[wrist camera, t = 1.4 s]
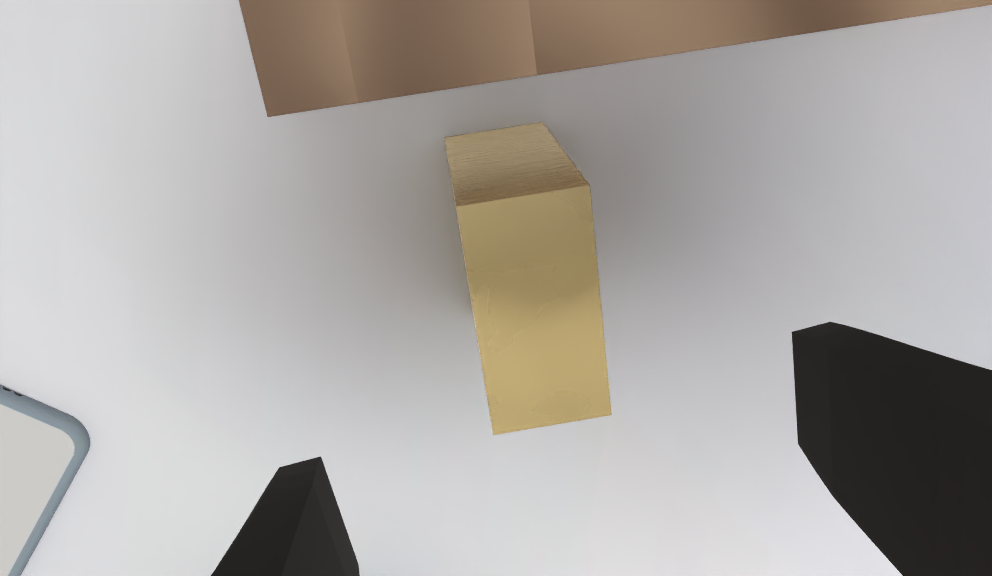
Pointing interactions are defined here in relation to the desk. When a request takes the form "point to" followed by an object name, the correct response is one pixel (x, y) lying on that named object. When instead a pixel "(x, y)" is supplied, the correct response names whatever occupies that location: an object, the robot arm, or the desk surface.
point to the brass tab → (530, 276)
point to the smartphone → (33, 472)
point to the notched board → (508, 39)
